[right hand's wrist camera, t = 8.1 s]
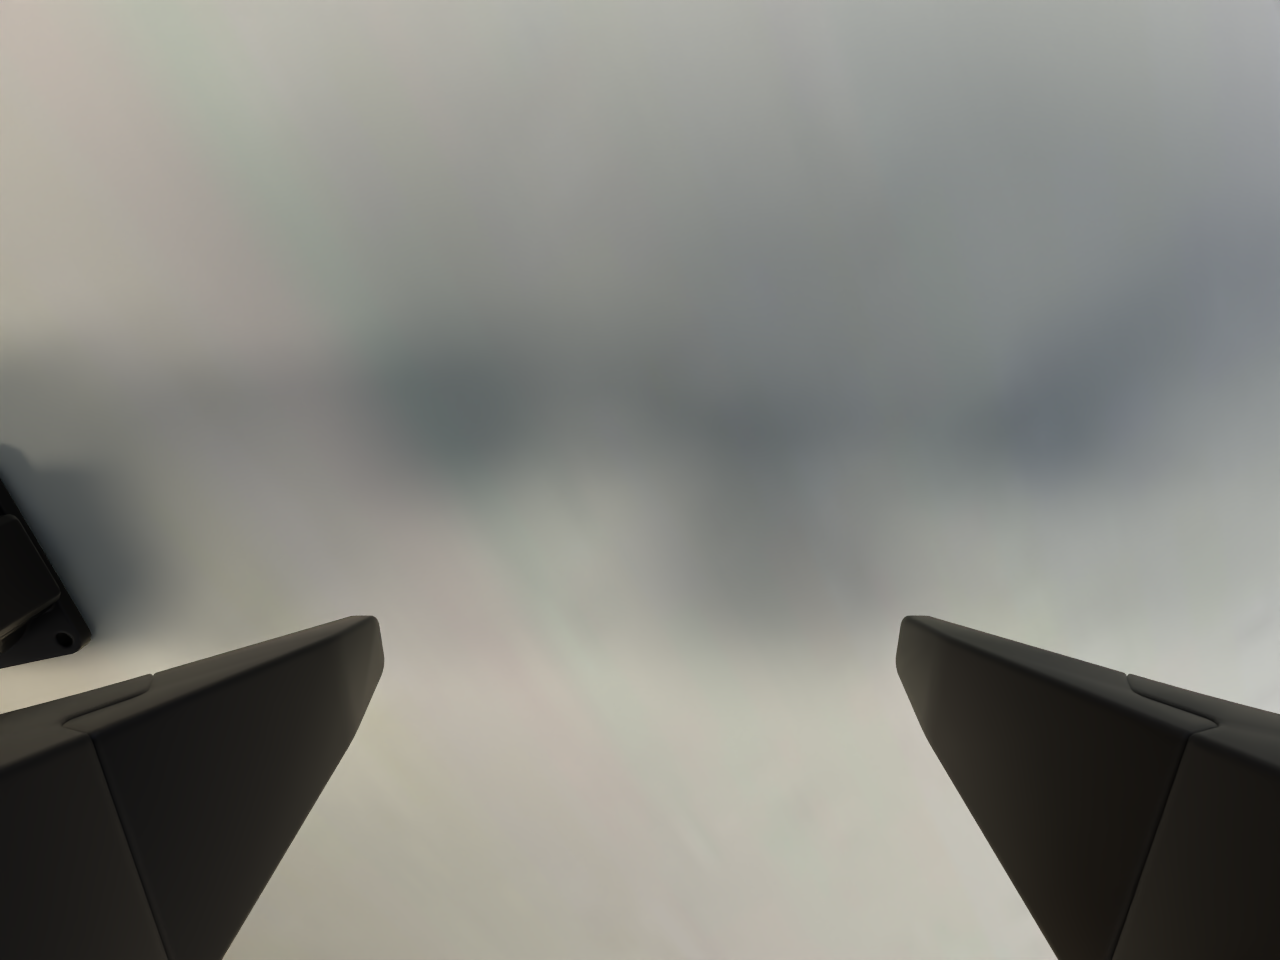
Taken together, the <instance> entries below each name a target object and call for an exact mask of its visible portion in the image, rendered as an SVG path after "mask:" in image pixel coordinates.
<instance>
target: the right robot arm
mask: <svg viewBox="0 0 1280 960" xmlns="http://www.w3.org/2000/svg"><path fill="white" fill-rule="evenodd" d="M67 634H68V635H69V636H70V637H71V638H70V637H69V636H68V635H67ZM90 640H91V633H90V630H89V628H88V626H87V625H86V623H85V621H84V620H83V618H82V616H81V614H80V613H79V611H78V609H77V608H76V606H75V604H74V603H73V601H72V599H71V598H70V596H69V594H68V592H67V591H66V589H65V587H64V586H63V584H62V582H61V581H60V579H59V577H58V576H57V574H56V572H55V570H54V569H53V567H52V565H51V564H50V562H49V560H48V559H47V557H46V555H45V554H44V552H43V550H42V549H41V547H40V545H39V543H38V542H37V540H36V538H35V537H34V535H33V533H32V532H31V530H30V528H29V527H28V525H27V523H26V521H25V520H24V518H23V516H22V515H21V513H20V511H19V510H18V508H17V506H16V505H15V503H14V501H13V499H12V498H11V496H10V494H9V493H8V491H7V489H6V488H5V486H4V484H3V483H2V481H1V479H0V669H1V668H6V667H10V666H15V665H20V664H25V663H30V662H34V661H39V660H44V659H49V658H54V657H58V656H63V655H68V654H73V653H75V652H77V651H79V650H80V649H81V648H83V647H84V646H85V645H87V644H88V643H89V641H90ZM383 668H384V653H383V647H382V640H381V634H380V627H379V623H378V620H377V619H376V617H374V616H350V617H346V618H343V619H339V620H336V621H333V622H329V623H326V624H322V625H319V626H315V627H312V628H308V629H305V630H302V631H298V632H295V633H291V634H288V635H284V636H281V637H278V638H274V639H271V640H267V641H264V642H260V643H257V644H253V645H250V646H247V647H243V648H240V649H236V650H233V651H229V652H226V653H222V654H219V655H216V656H212V657H209V658H205V659H202V660H198V661H195V662H191V663H188V664H185V665H181V666H178V667H174V668H171V669H167V670H164V671H160V672H157V673H155V674H154V676H153V675H151V674H147V675H144V676H140V677H137V678H133V679H130V680H126V681H123V682H119V683H116V684H112V685H108V686H105V687H101V688H98V689H94V690H91V691H87V692H83V693H80V694H76V695H72V696H68V697H65V698H61V699H57V700H53V701H50V702H46V703H42V704H38V705H35V706H31V707H27V708H23V709H19V710H15V711H11V712H7V713H3V714H0V960H222V959H223V957H224V955H225V953H226V952H227V950H228V948H229V947H230V945H231V943H232V942H233V940H234V938H235V937H236V935H237V933H238V932H239V930H240V928H241V927H242V925H243V923H244V922H245V920H246V918H247V917H248V915H249V913H250V911H251V910H252V908H253V906H254V905H255V903H256V901H257V900H258V898H259V896H260V895H261V893H262V891H263V890H264V888H265V886H266V885H267V883H268V881H269V880H270V878H271V876H272V875H273V873H274V871H275V869H276V868H277V866H278V864H279V863H280V861H281V859H282V858H283V856H284V854H285V853H286V851H287V849H288V848H289V846H290V844H291V843H292V841H293V839H294V838H295V836H296V834H297V833H298V831H299V829H300V828H301V826H302V824H303V822H304V821H305V819H306V817H307V816H308V814H309V812H310V811H311V809H312V807H313V806H314V804H315V802H316V801H317V799H318V797H319V796H320V794H321V792H322V791H323V789H324V787H325V786H326V784H327V782H328V780H329V779H330V777H331V775H332V774H333V772H334V770H335V769H336V767H337V765H338V764H339V762H340V760H341V759H342V757H343V755H344V754H345V752H346V750H347V749H348V747H349V745H350V743H351V741H352V740H353V738H354V736H355V734H356V732H357V730H358V728H359V725H360V723H361V721H362V719H363V716H364V714H365V712H366V709H367V707H368V705H369V702H370V700H371V698H372V696H373V693H374V691H375V689H376V686H377V684H378V682H379V679H380V677H381V675H382V672H383ZM896 668H897V672H898V675H899V677H900V679H901V682H902V684H903V686H904V689H905V691H906V693H907V696H908V698H909V700H910V702H911V705H912V707H913V709H914V712H915V714H916V716H917V719H918V721H919V723H920V725H921V728H922V730H923V732H924V734H925V736H926V738H927V740H928V741H929V743H930V745H931V747H932V749H933V750H934V752H935V754H936V755H937V757H938V759H939V760H940V762H941V764H942V765H943V767H944V769H945V770H946V772H947V774H948V775H949V777H950V779H951V780H952V782H953V784H954V786H955V787H956V789H957V791H958V792H959V794H960V796H961V797H962V799H963V801H964V802H965V804H966V806H967V807H968V809H969V811H970V812H971V814H972V816H973V817H974V819H975V821H976V822H977V824H978V826H979V828H980V829H981V831H982V833H983V834H984V836H985V838H986V839H987V841H988V843H989V844H990V846H991V848H992V849H993V851H994V853H995V854H996V856H997V858H998V859H999V861H1000V863H1001V864H1002V866H1003V868H1004V869H1005V871H1006V873H1007V875H1008V876H1009V878H1010V880H1011V881H1012V883H1013V885H1014V886H1015V888H1016V890H1017V891H1018V893H1019V895H1020V896H1021V898H1022V900H1023V901H1024V903H1025V905H1026V906H1027V908H1028V910H1029V911H1030V913H1031V915H1032V917H1033V918H1034V920H1035V922H1036V923H1037V925H1038V927H1039V928H1040V930H1041V932H1042V933H1043V935H1044V937H1045V938H1046V940H1047V942H1048V943H1049V945H1050V947H1051V948H1052V950H1053V952H1054V953H1055V955H1056V957H1057V959H1058V960H1280V714H1277V713H1273V712H1269V711H1265V710H1261V709H1257V708H1253V707H1249V706H1245V705H1242V704H1238V703H1234V702H1230V701H1227V700H1223V699H1219V698H1215V697H1212V696H1208V695H1204V694H1200V693H1197V692H1193V691H1189V690H1186V689H1182V688H1179V687H1175V686H1172V685H1168V684H1164V683H1161V682H1157V681H1154V680H1150V679H1147V678H1143V677H1140V676H1136V675H1133V674H1129V675H1127V676H1126V674H1125V673H1123V672H1120V671H1116V670H1113V669H1109V668H1106V667H1102V666H1099V665H1095V664H1092V663H1089V662H1085V661H1082V660H1078V659H1075V658H1071V657H1068V656H1064V655H1061V654H1058V653H1054V652H1051V651H1047V650H1044V649H1040V648H1037V647H1033V646H1030V645H1027V644H1023V643H1020V642H1016V641H1013V640H1009V639H1006V638H1002V637H999V636H996V635H992V634H989V633H985V632H982V631H978V630H975V629H972V628H968V627H965V626H961V625H958V624H954V623H951V622H947V621H944V620H941V619H937V618H934V617H930V616H906V617H904V619H903V620H902V623H901V627H900V634H899V640H898V647H897V653H896Z"/></svg>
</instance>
